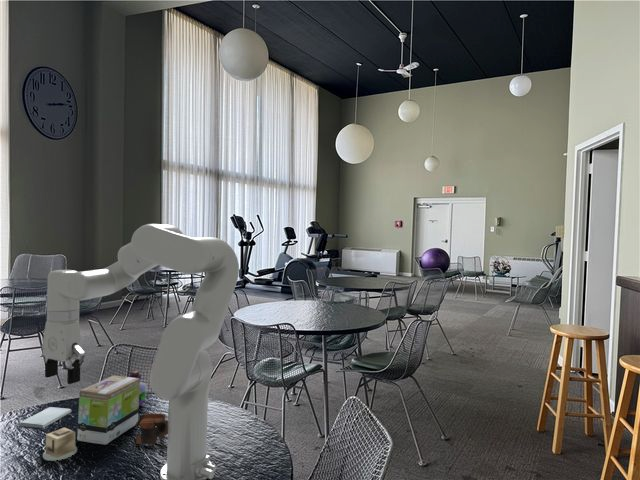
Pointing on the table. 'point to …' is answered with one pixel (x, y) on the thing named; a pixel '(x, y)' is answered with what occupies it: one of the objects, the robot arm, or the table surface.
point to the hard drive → (45, 417)
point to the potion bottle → (142, 386)
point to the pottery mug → (151, 428)
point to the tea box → (108, 409)
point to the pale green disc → (52, 458)
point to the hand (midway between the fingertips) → (62, 379)
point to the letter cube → (60, 442)
